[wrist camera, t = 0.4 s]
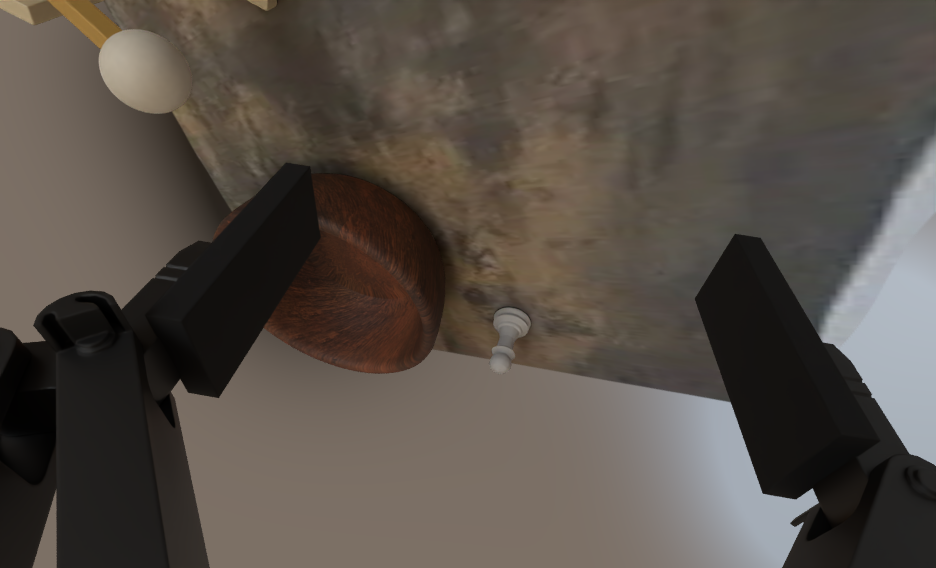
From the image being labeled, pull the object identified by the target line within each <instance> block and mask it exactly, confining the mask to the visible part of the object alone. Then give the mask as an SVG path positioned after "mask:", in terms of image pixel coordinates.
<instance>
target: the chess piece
mask: <svg viewBox="0 0 936 568" xmlns="http://www.w3.org/2000/svg"><path fill="white" fill-rule="evenodd" d="M493 324H494V327H495V329H496V330H497V331H498V332H499V335H500V339H499V342H498V344H497V346H496V347H494V348H492V354H493V356H492V357H491V359H490V367H491V369H492V370H493V371H494V372H496V373H498V374H505V373H506V372H508V371H509V370H510V368H511V360H512V359H514V357H515V353H514V352H513V351H512V350H513V345H514V342H515V340H516V339H517V338H520V337H523V336H525V335H526V334H527V332H528V329H529V328H530V326H531V321H530V319H529V317H528V316H527V315H526V314H525V313H524V312H523V311H521V310H519V309H516V308H510V307H507V308H502V309H500V310H498V311H497V312H496V313H495V315H494V322H493Z"/></svg>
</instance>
